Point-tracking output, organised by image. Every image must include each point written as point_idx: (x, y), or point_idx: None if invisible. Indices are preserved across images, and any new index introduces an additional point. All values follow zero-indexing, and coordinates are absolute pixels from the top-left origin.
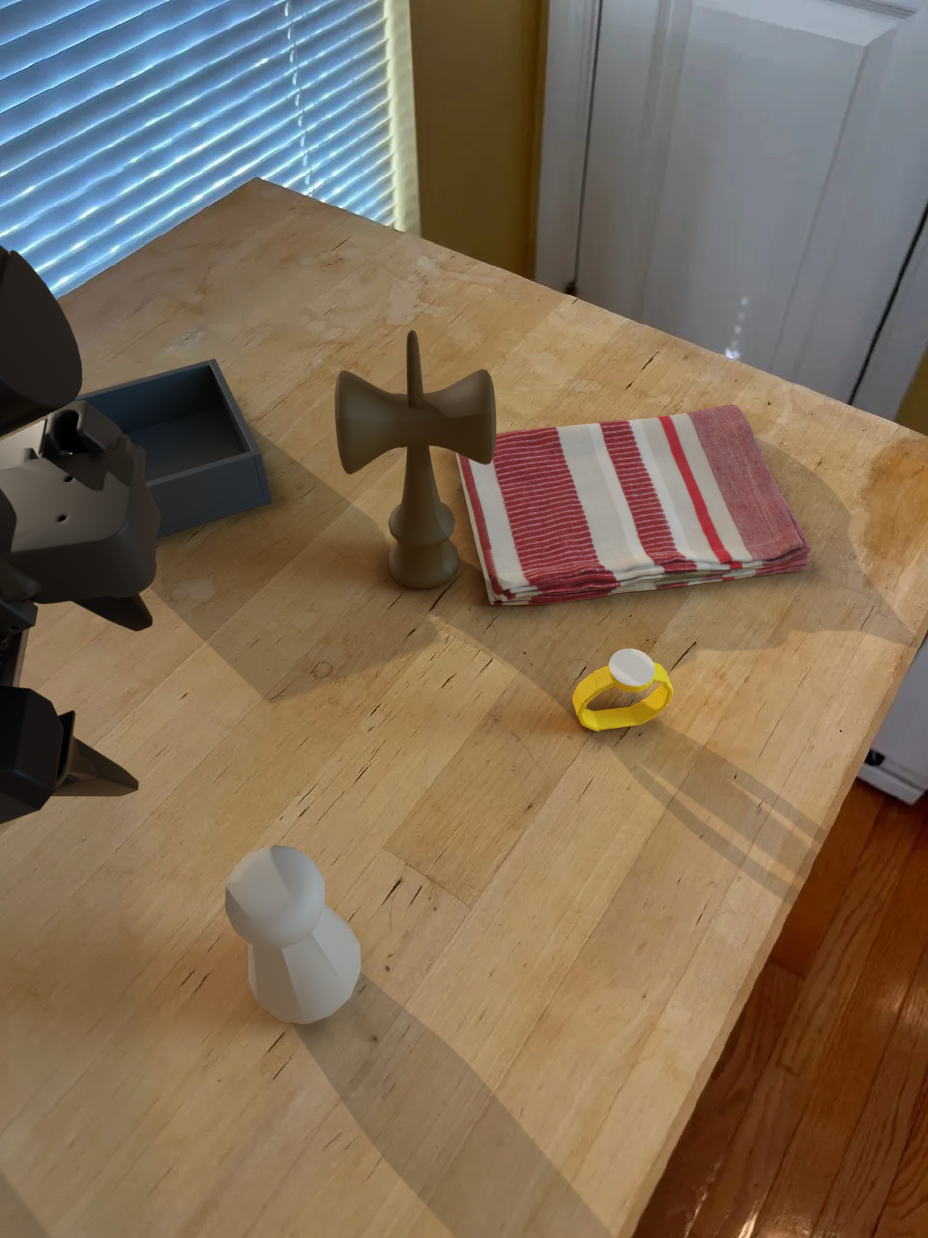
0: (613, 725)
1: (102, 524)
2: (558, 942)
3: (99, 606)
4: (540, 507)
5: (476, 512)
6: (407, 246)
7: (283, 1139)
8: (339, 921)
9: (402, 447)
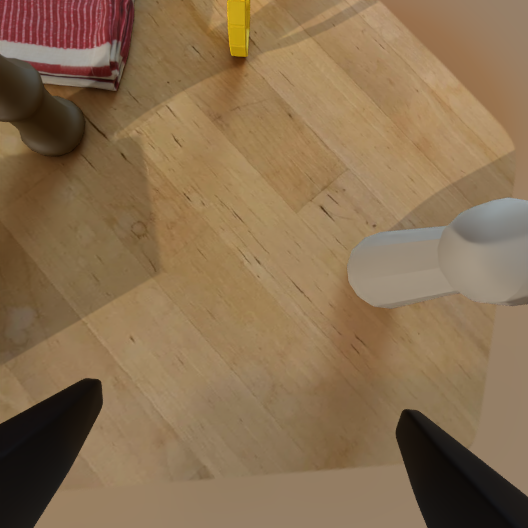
0: (247, 42)
1: None
2: (379, 125)
3: (29, 510)
4: (26, 15)
5: None
6: None
7: (455, 300)
8: (399, 232)
9: None
